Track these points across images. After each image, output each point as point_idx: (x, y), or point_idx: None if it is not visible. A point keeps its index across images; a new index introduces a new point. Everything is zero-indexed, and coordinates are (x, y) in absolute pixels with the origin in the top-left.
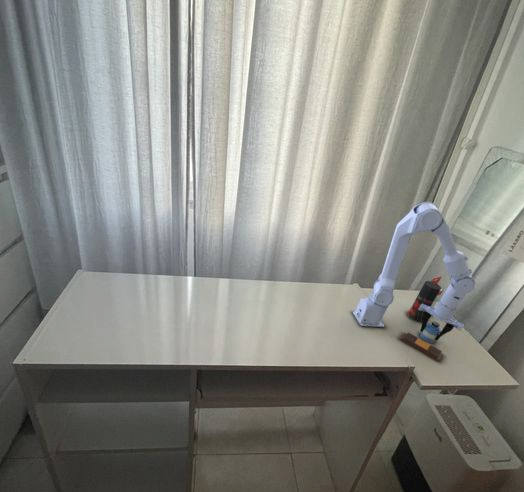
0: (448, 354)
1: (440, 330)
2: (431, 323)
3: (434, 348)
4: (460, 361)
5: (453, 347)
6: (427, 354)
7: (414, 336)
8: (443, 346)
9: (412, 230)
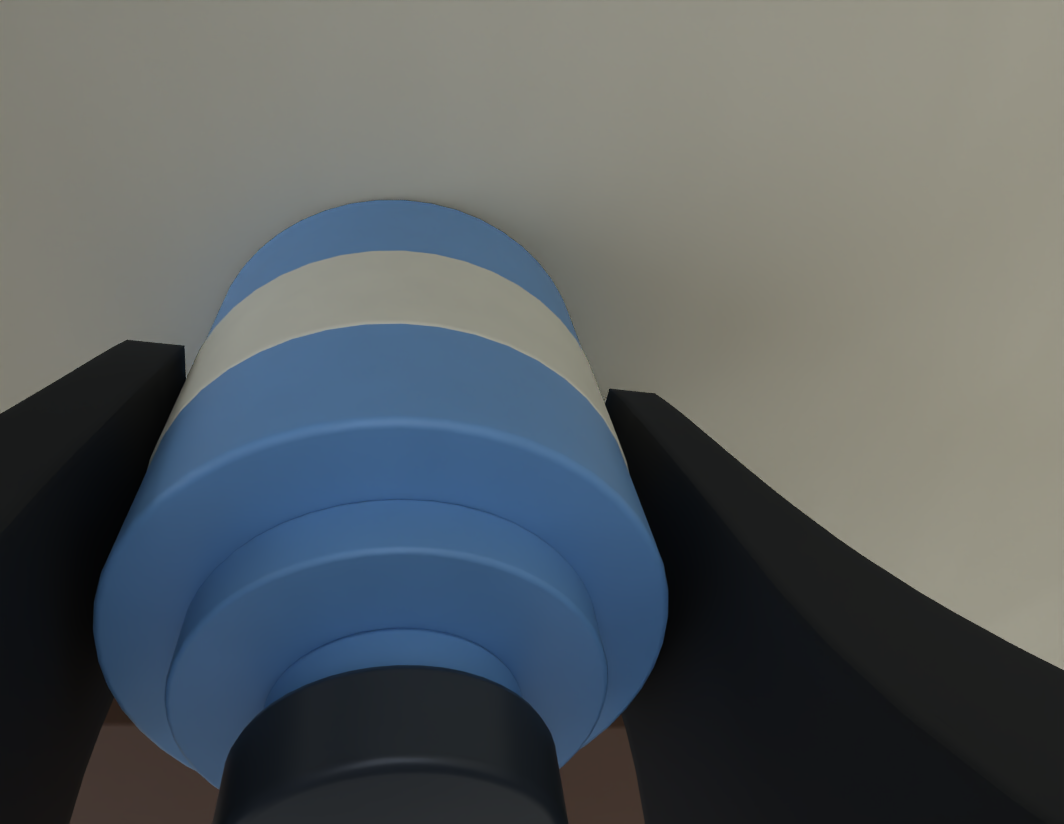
0: (849, 546)
1: (654, 629)
2: (229, 629)
3: (575, 762)
4: (1031, 565)
5: (1040, 223)
6: None
7: (136, 740)
8: (788, 377)
9: None
